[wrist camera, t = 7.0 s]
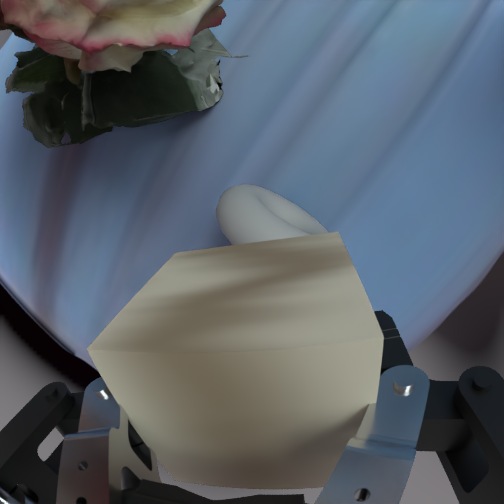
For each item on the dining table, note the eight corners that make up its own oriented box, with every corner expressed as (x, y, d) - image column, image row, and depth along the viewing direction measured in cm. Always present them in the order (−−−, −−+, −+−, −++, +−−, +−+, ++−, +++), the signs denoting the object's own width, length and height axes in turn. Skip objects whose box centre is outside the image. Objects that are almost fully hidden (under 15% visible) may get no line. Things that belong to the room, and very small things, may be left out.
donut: (224, 202, 27) (189, 235, 18) (242, 170, 26) (214, 186, 17) (317, 257, 28) (327, 315, 19) (337, 227, 27) (359, 274, 17)
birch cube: (337, 231, 10) (383, 337, 5) (343, 363, 12) (359, 483, 7) (175, 252, 11) (86, 349, 6) (212, 372, 13) (174, 480, 8)
